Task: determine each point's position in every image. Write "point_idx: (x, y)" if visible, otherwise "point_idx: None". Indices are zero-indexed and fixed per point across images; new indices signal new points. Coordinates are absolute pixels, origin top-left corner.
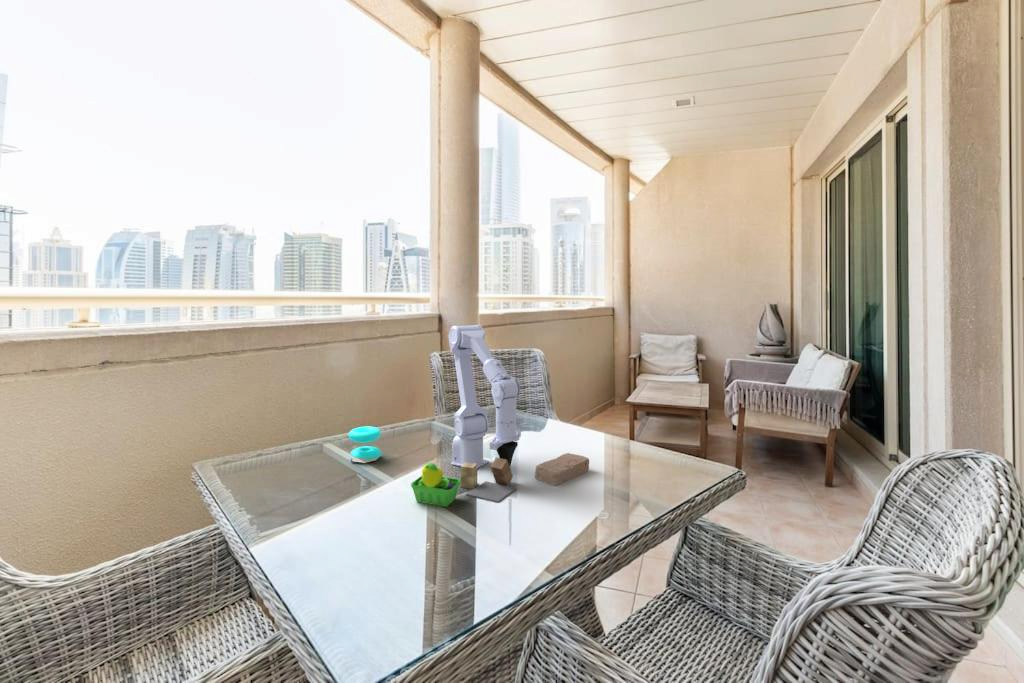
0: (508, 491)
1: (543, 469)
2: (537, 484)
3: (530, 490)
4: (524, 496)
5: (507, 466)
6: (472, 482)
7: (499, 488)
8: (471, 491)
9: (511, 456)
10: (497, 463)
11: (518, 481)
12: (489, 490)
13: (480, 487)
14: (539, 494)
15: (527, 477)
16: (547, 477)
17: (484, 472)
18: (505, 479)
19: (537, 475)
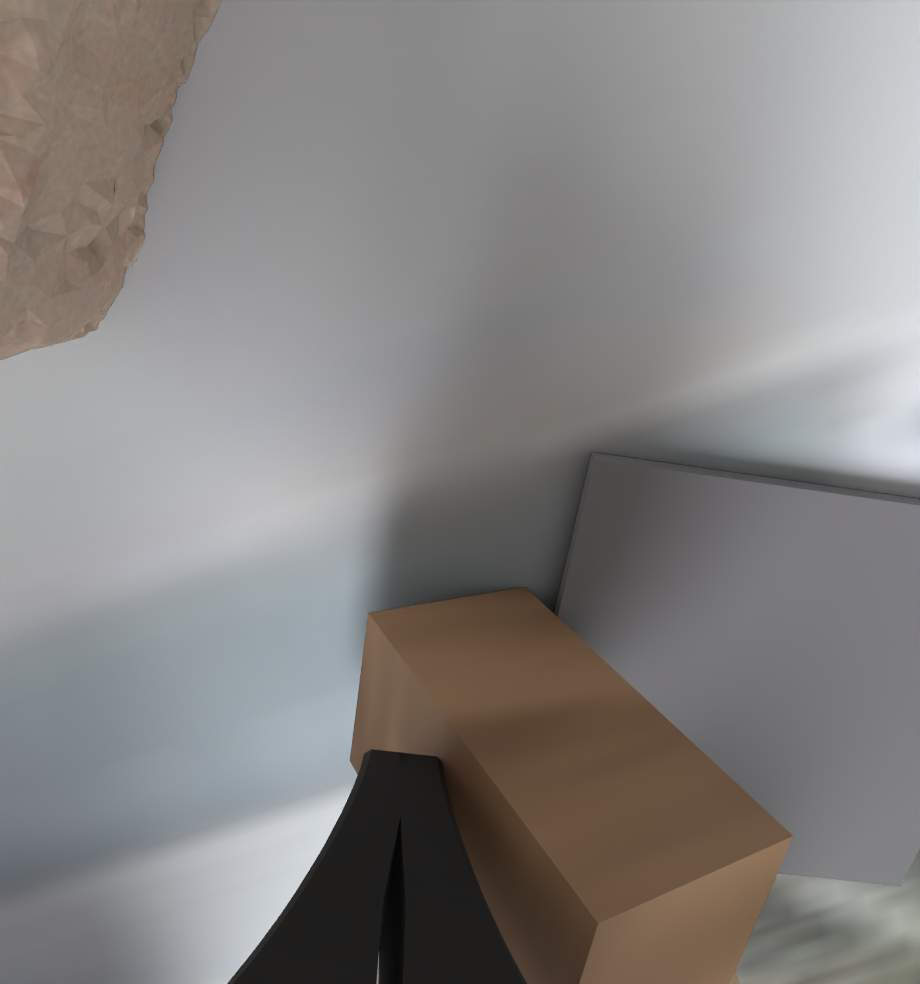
0: (746, 515)
1: (42, 145)
2: (298, 210)
3: (569, 243)
4: (813, 259)
5: (562, 792)
6: None
7: (677, 646)
8: (832, 865)
9: (368, 909)
10: (676, 977)
11: (309, 515)
12: (764, 723)
13: None
14: (688, 40)
15: (108, 447)
16: (157, 26)
17: (223, 931)
18: (597, 662)
19: (101, 279)
